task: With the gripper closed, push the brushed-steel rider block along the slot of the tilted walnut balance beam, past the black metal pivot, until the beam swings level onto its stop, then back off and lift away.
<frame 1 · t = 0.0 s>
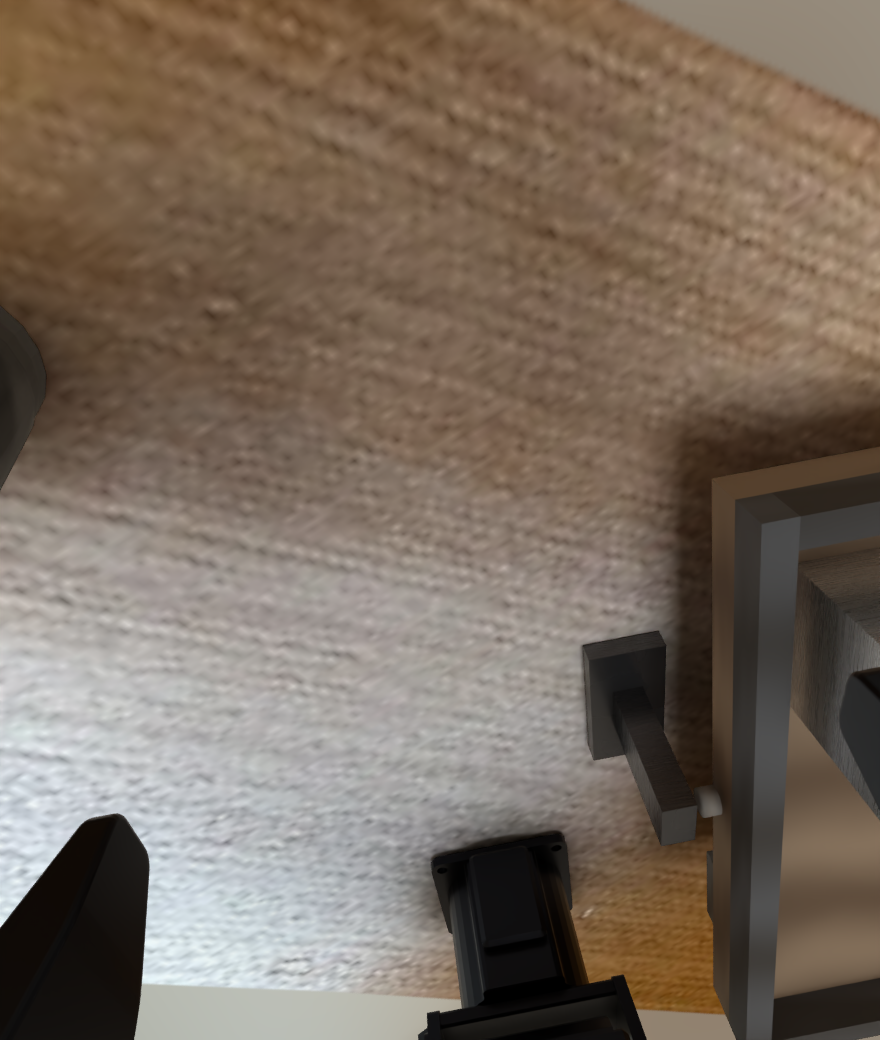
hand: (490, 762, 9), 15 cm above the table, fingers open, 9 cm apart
beam stand: (783, 660, 31), on the table
balance beam: (849, 755, 27), point 5 cm above the table, hinge at 8.2°, touching steel rider
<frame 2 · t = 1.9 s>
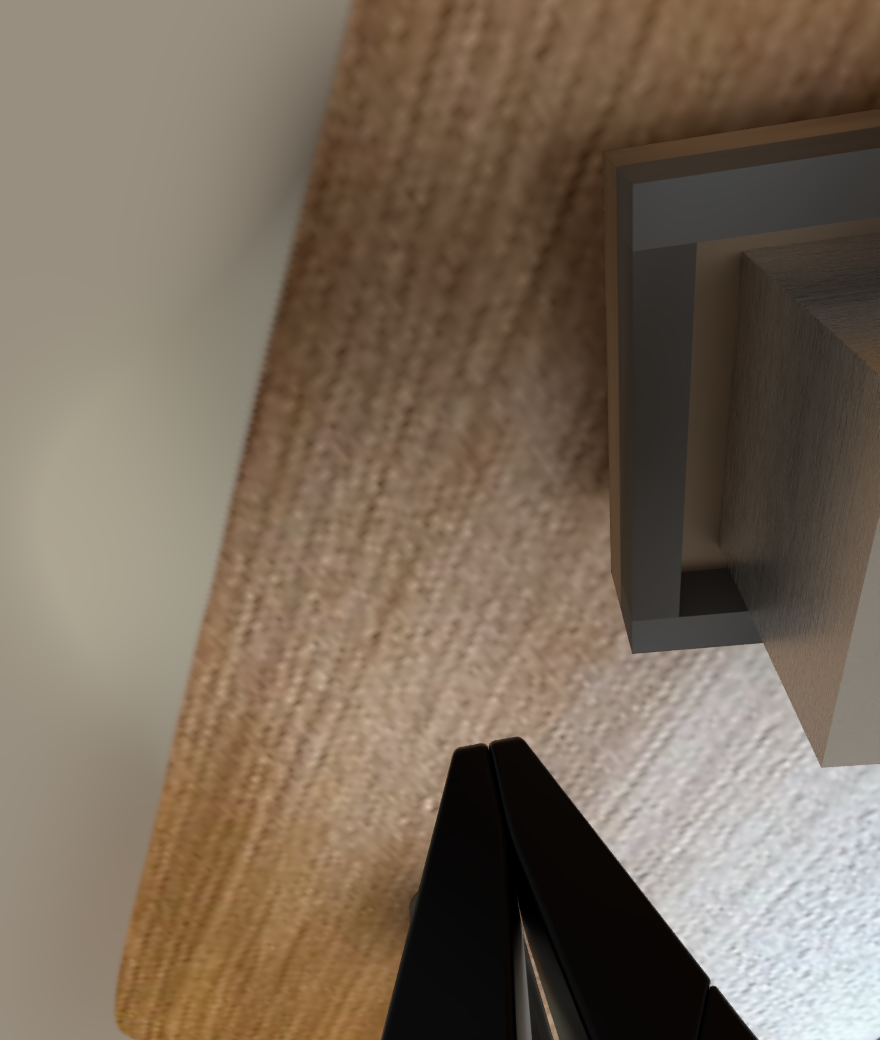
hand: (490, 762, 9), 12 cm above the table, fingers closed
steel rider: (857, 401, 15), point 5 cm above the table, tilted 8°, touching balance beam
beverage cup: (459, 899, 33), on the table
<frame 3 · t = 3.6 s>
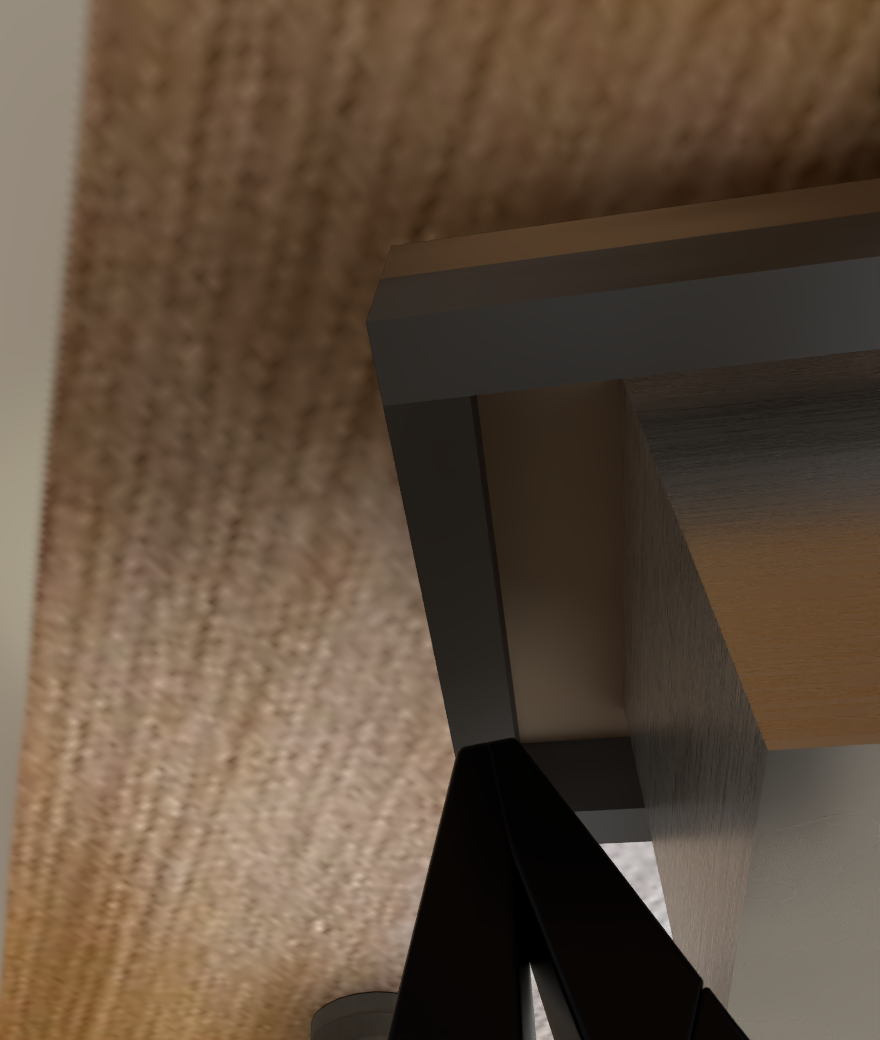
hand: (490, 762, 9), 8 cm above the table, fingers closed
steel rider: (788, 553, 11), point 5 cm above the table, tilted 8°, touching balance beam, gripper
beverage cup: (368, 1014, 30), on the table
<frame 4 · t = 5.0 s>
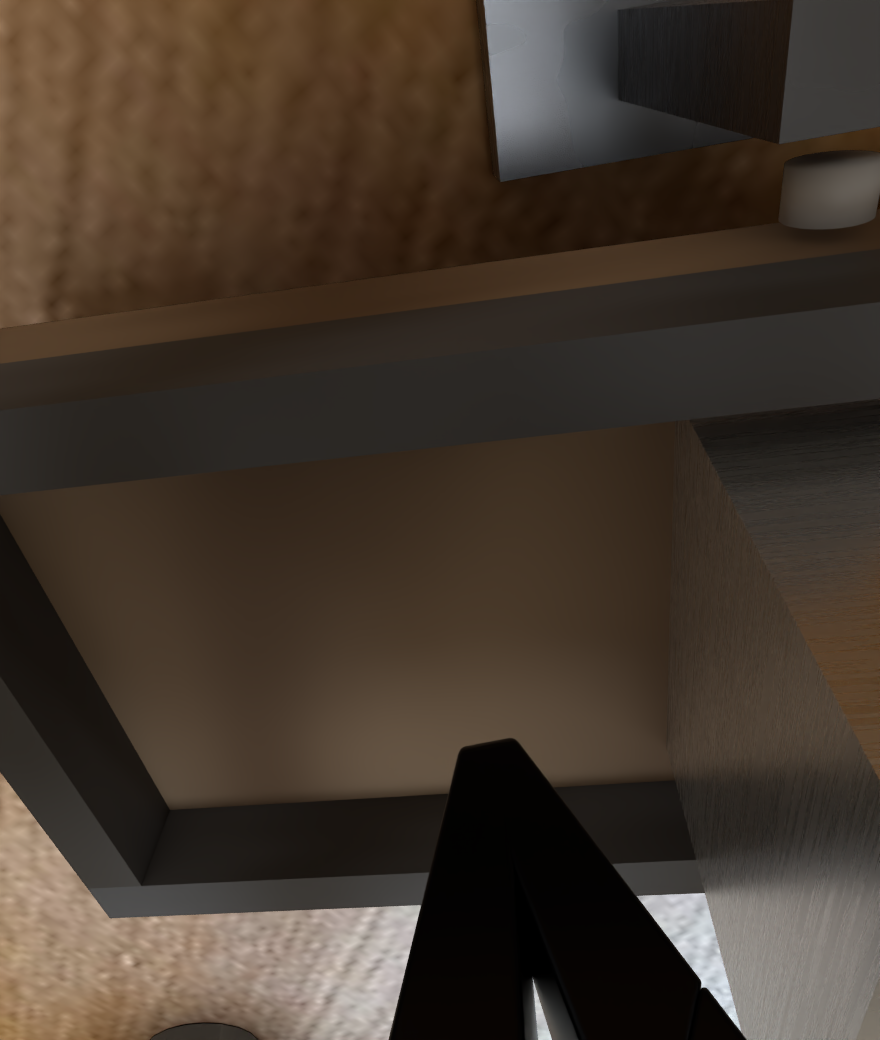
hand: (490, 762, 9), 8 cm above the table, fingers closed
steel rider: (849, 584, 11), point 6 cm above the table, tilted 8°, touching balance beam, gripper
beam stand: (655, 415, 16), on the table
balance beam: (760, 541, 12), point 5 cm above the table, hinge at 7.6°, touching steel rider
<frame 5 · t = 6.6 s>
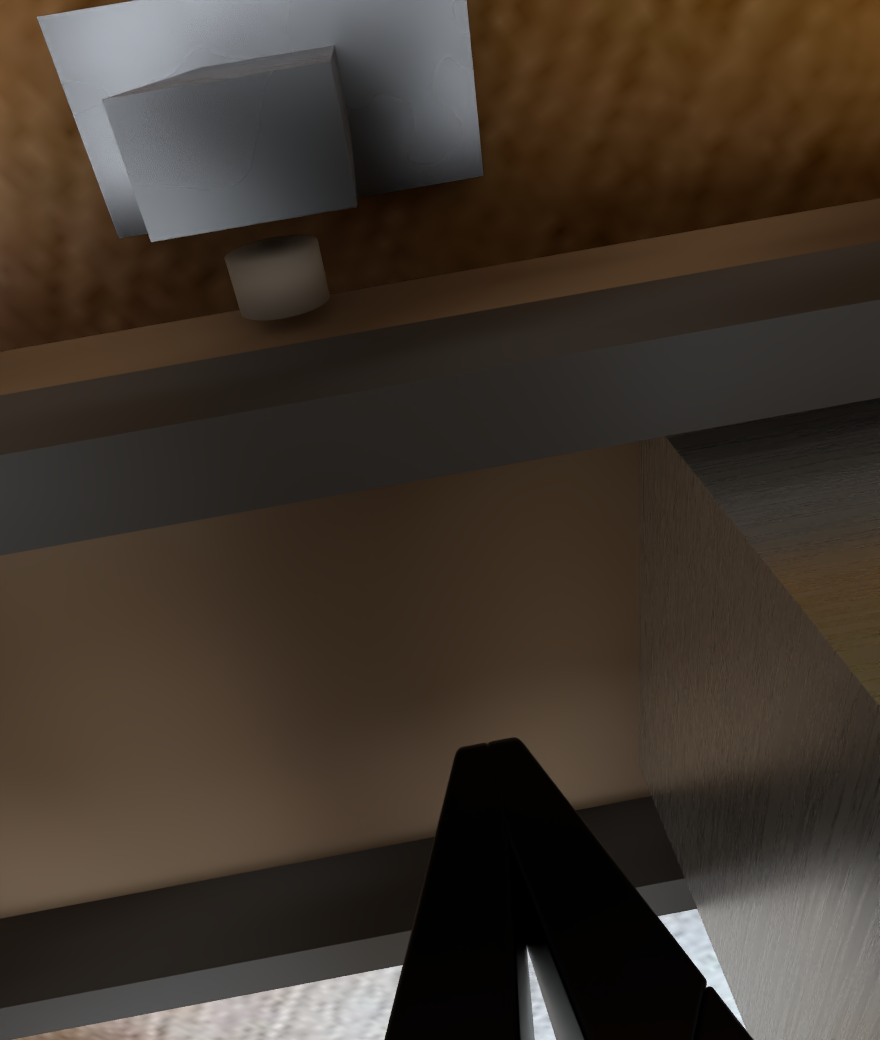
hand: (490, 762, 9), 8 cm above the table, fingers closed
steel rider: (812, 582, 11), point 6 cm above the table
beam stand: (363, 463, 16), on the table
balance beam: (371, 609, 12), point 5 cm above the table, hinge at -0.3°
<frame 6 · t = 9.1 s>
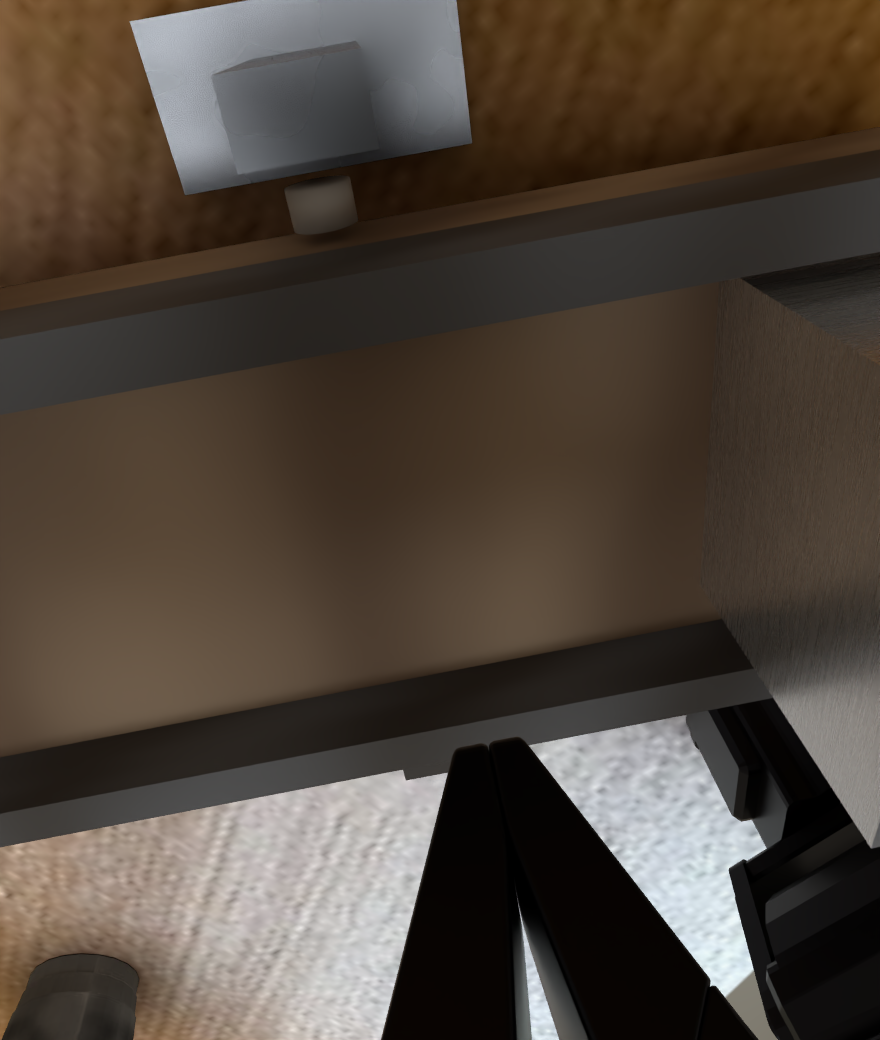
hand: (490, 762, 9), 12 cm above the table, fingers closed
steel rider: (841, 421, 14), point 6 cm above the table, touching balance beam
beam stand: (377, 388, 19), on the table
beverage cup: (86, 976, 33), on the table
balance beam: (386, 484, 15), point 5 cm above the table, hinge at -0.3°, touching steel rider
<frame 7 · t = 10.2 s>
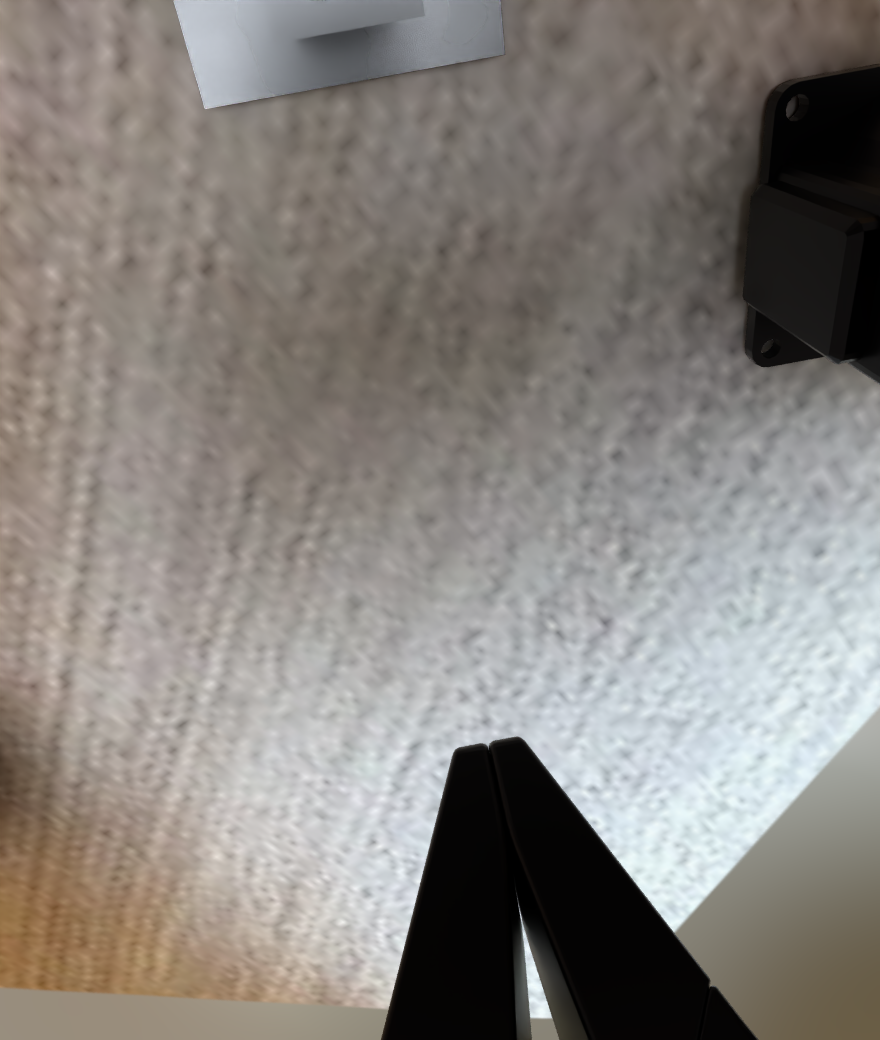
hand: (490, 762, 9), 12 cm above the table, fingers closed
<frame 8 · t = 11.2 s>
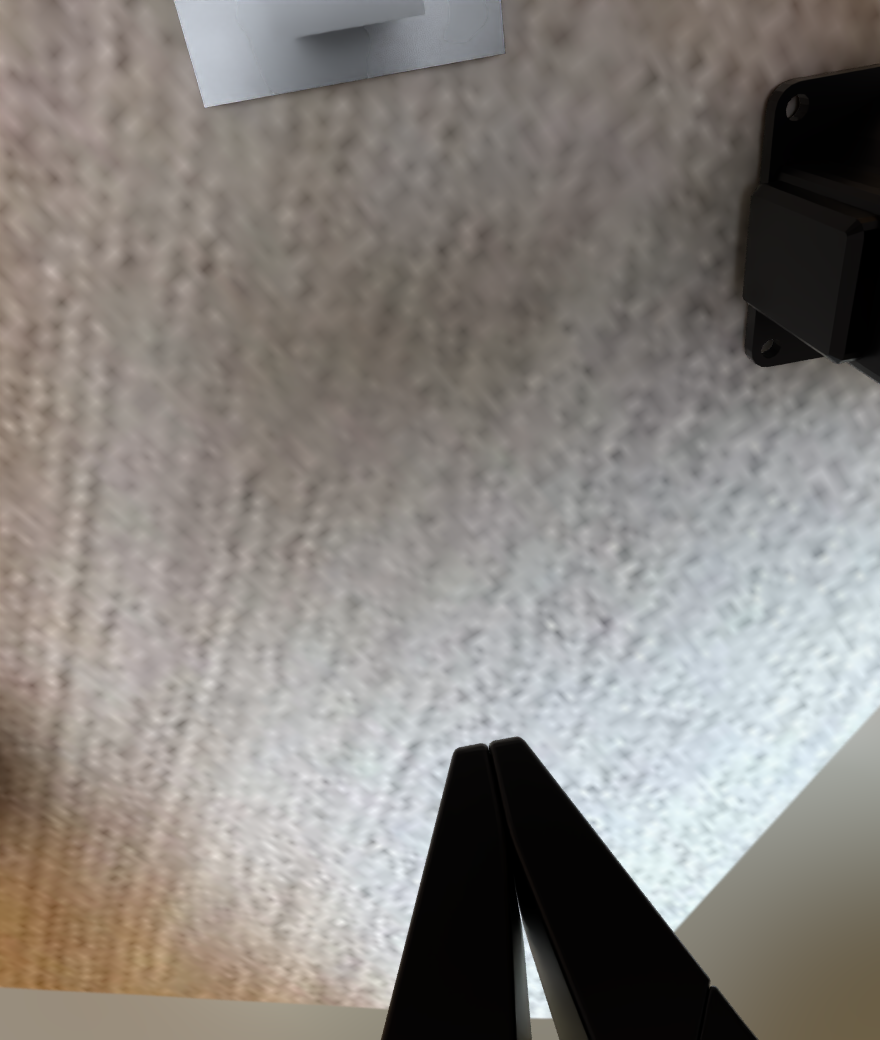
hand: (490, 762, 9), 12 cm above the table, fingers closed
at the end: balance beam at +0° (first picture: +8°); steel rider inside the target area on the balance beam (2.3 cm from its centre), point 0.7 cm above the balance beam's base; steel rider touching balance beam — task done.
